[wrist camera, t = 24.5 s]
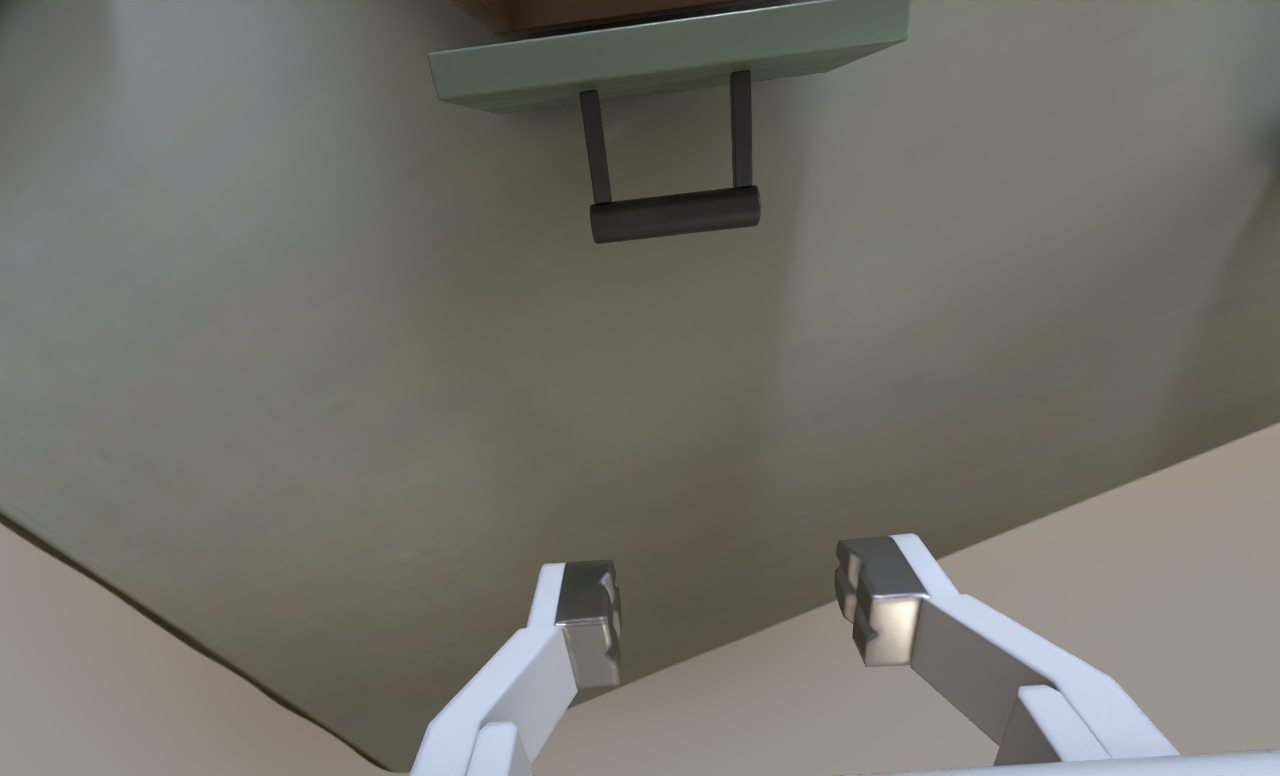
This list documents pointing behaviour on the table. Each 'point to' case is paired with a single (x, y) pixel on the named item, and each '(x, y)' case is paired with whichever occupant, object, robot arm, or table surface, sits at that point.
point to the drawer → (658, 79)
